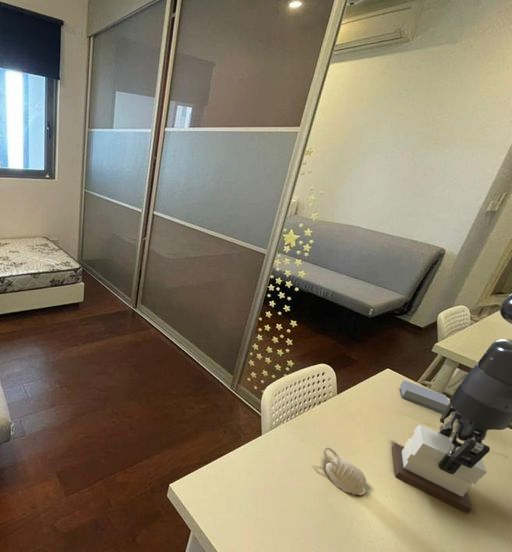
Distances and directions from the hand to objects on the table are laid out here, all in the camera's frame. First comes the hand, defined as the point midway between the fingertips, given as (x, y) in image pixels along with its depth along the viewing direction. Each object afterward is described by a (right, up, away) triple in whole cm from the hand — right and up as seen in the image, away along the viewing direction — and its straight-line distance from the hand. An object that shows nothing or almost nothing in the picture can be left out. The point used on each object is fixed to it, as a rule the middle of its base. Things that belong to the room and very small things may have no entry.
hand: (441, 457), depth 64 cm
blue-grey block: (+18, +2, +23) cm, 29 cm away
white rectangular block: (0, +1, -1) cm, 1 cm away
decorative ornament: (-20, -5, +1) cm, 21 cm away
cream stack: (-1, -6, +3) cm, 6 cm away
